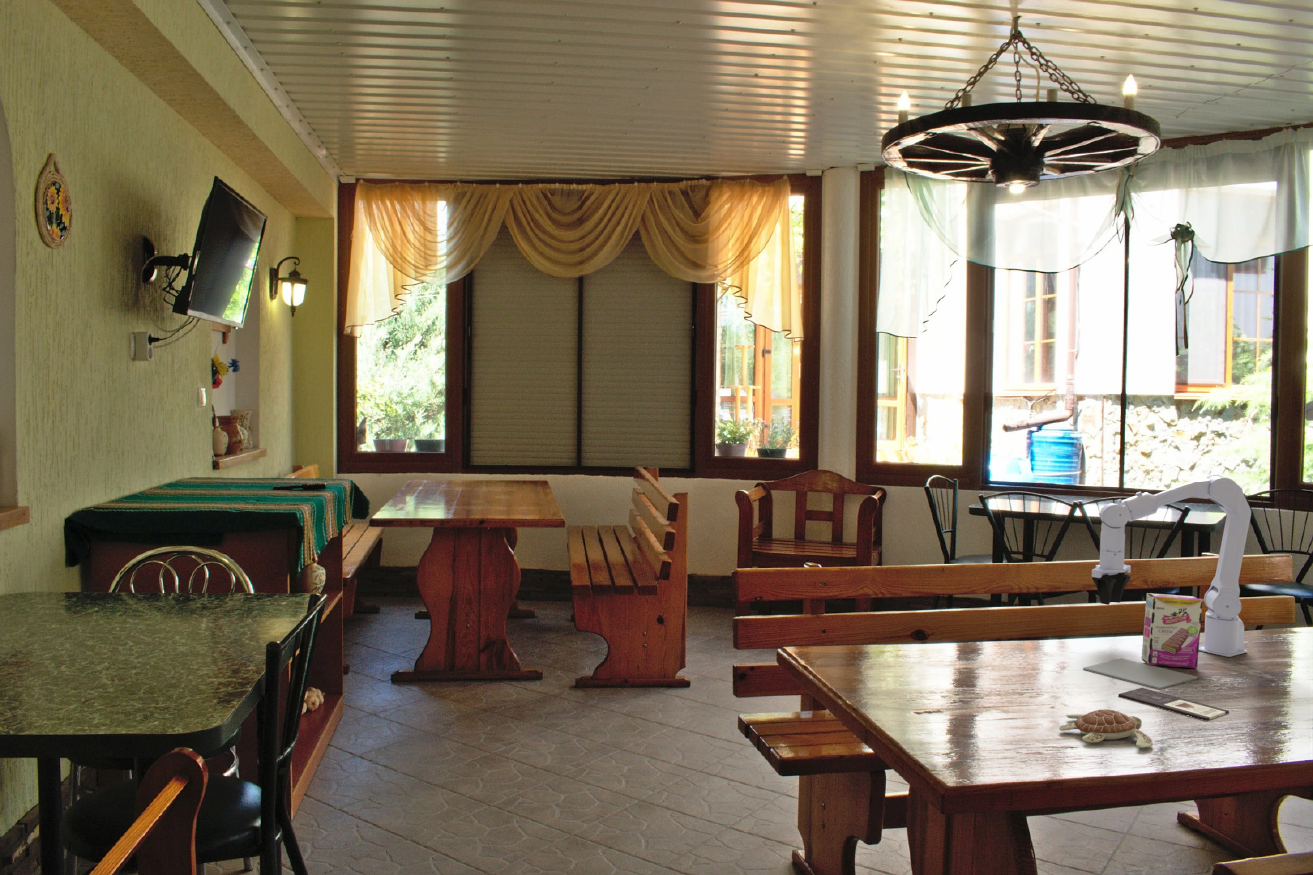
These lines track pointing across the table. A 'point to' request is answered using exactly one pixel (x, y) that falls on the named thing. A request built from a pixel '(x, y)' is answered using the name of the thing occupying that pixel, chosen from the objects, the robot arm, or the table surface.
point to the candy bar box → (1171, 630)
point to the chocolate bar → (1173, 703)
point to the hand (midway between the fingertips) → (1110, 602)
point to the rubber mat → (1140, 673)
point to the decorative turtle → (1108, 727)
